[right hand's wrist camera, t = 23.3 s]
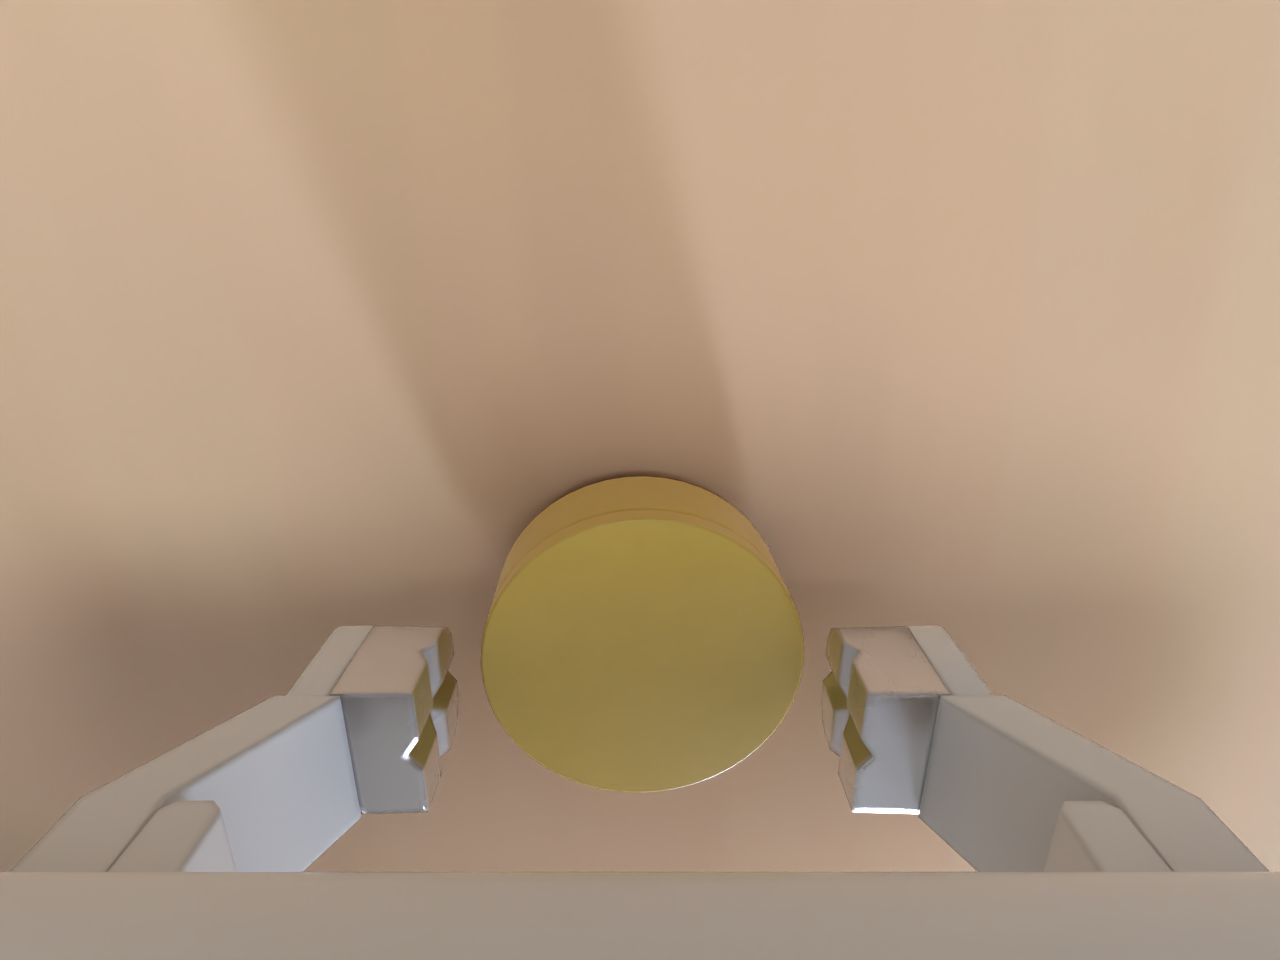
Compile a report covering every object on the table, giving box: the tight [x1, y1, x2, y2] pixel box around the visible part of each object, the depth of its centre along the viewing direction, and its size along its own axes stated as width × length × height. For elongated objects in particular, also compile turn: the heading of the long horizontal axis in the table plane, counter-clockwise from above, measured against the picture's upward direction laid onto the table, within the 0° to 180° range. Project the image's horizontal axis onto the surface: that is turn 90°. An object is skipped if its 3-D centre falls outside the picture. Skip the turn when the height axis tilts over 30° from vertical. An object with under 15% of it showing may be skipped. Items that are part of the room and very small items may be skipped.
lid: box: [481, 476, 804, 793], centre depth 11 cm, size 5×5×2 cm
